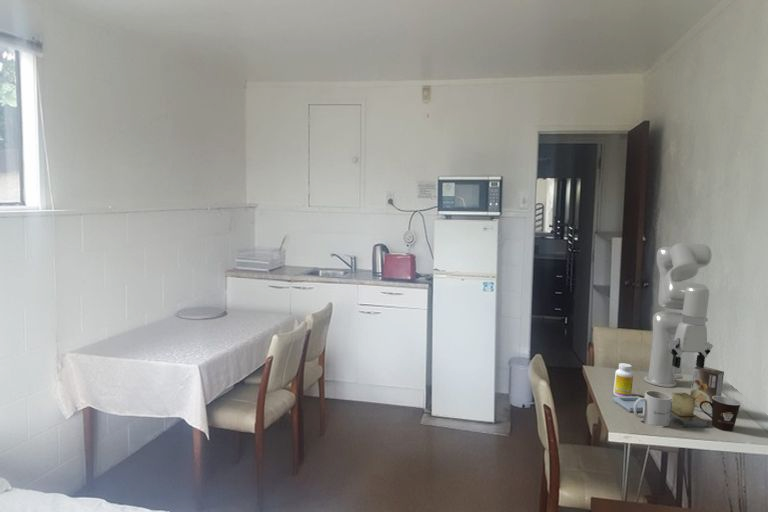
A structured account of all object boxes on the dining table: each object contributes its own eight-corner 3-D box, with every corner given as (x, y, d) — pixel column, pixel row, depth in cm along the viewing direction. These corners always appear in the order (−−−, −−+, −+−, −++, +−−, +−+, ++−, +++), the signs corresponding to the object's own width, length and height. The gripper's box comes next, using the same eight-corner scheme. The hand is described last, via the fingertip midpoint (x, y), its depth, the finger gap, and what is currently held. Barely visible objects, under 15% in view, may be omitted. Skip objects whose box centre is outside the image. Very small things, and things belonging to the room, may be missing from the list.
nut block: (682, 415, 203) (685, 392, 202) (693, 422, 198) (696, 398, 196) (669, 416, 202) (672, 392, 201) (679, 422, 197) (682, 398, 196)
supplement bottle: (632, 399, 217) (636, 368, 215) (614, 397, 218) (618, 366, 217) (628, 393, 223) (632, 363, 222) (611, 391, 225) (614, 361, 223)
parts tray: (638, 400, 216) (638, 396, 216) (656, 411, 205) (656, 407, 205) (612, 400, 214) (613, 396, 214) (629, 412, 203) (630, 407, 203)
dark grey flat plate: (665, 402, 215) (665, 397, 215) (706, 427, 194) (706, 421, 193) (644, 403, 214) (644, 398, 213) (683, 427, 192) (684, 421, 192)
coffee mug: (738, 427, 195) (742, 400, 193) (734, 434, 188) (738, 407, 187) (702, 417, 202) (705, 391, 201) (696, 424, 196) (700, 397, 195)
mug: (664, 418, 199) (667, 392, 198) (671, 428, 191) (675, 401, 190) (628, 414, 202) (631, 388, 200) (634, 423, 193) (637, 396, 192)
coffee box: (720, 412, 209) (725, 371, 207) (713, 415, 205) (719, 374, 203) (694, 404, 216) (699, 364, 214) (687, 407, 212) (692, 367, 210)
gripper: (707, 318, 200) (701, 363, 202) (664, 317, 198) (659, 363, 199) (722, 323, 193) (716, 370, 195) (679, 322, 190) (673, 370, 192)
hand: (687, 366), depth 197 cm, fingers open, 9 cm apart
